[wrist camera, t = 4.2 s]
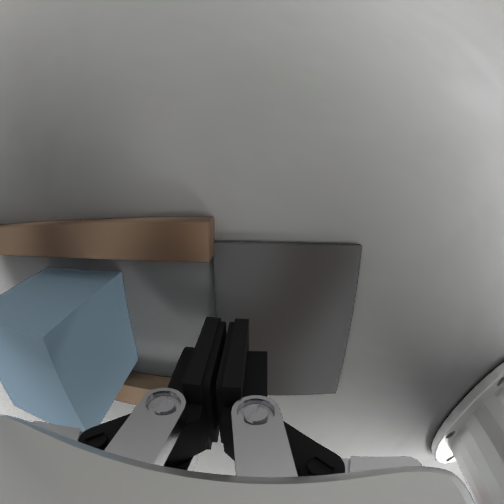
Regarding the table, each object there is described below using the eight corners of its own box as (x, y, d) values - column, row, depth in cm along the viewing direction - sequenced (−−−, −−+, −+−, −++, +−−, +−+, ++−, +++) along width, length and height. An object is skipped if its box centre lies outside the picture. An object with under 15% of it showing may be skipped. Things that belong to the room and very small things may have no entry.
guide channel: (361, 220, 11) (371, 226, 10) (331, 401, 14) (335, 416, 13) (-2, 224, 12) (-16, 229, 11) (35, 362, 15) (26, 371, 14)
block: (121, 271, 12) (42, 337, 7) (139, 358, 14) (91, 439, 8) (48, 266, 12) (-29, 313, 7) (69, 344, 14) (14, 405, 8)
